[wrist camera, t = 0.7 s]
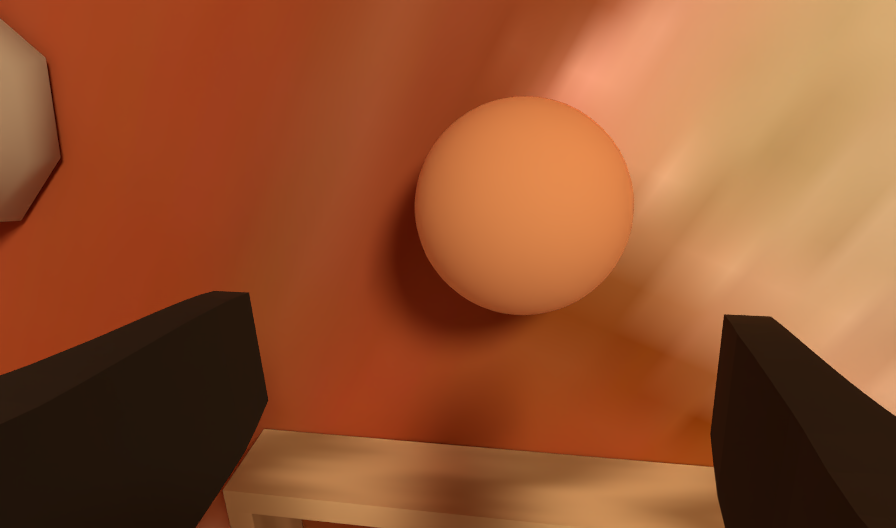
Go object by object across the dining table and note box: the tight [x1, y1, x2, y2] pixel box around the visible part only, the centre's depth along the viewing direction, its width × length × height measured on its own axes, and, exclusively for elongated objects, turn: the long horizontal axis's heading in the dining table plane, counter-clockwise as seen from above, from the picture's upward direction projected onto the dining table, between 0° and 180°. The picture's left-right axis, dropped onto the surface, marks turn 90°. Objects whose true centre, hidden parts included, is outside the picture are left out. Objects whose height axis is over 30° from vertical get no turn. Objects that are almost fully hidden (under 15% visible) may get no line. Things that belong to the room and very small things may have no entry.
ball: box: [415, 96, 634, 315], centre depth 17 cm, size 5×5×5 cm
